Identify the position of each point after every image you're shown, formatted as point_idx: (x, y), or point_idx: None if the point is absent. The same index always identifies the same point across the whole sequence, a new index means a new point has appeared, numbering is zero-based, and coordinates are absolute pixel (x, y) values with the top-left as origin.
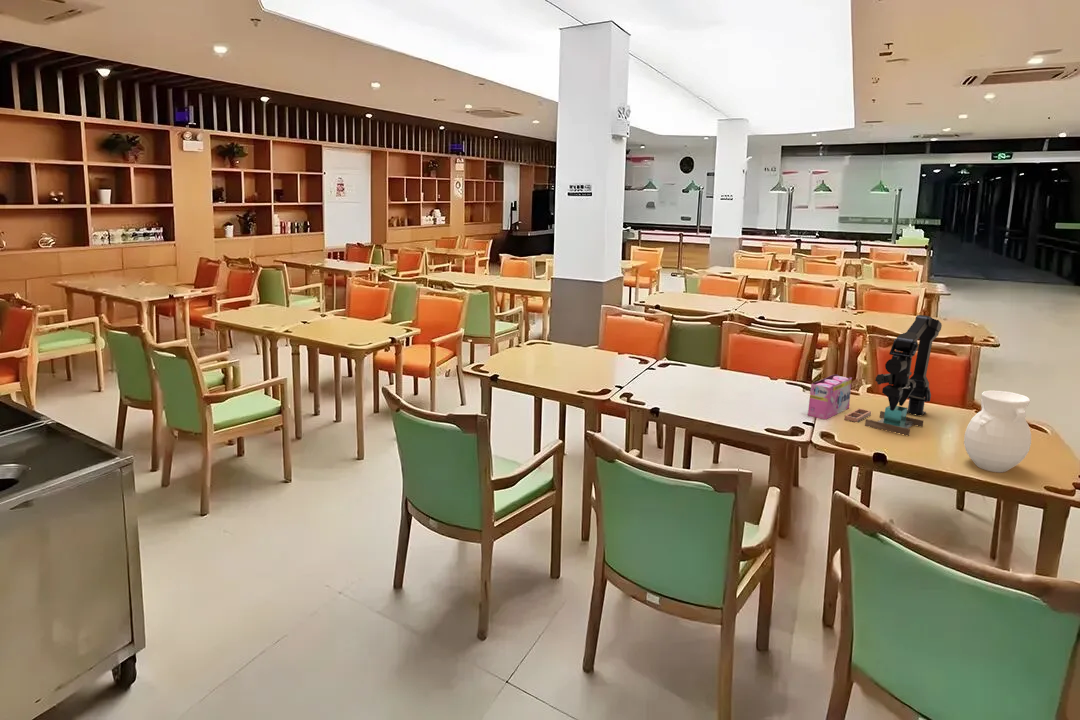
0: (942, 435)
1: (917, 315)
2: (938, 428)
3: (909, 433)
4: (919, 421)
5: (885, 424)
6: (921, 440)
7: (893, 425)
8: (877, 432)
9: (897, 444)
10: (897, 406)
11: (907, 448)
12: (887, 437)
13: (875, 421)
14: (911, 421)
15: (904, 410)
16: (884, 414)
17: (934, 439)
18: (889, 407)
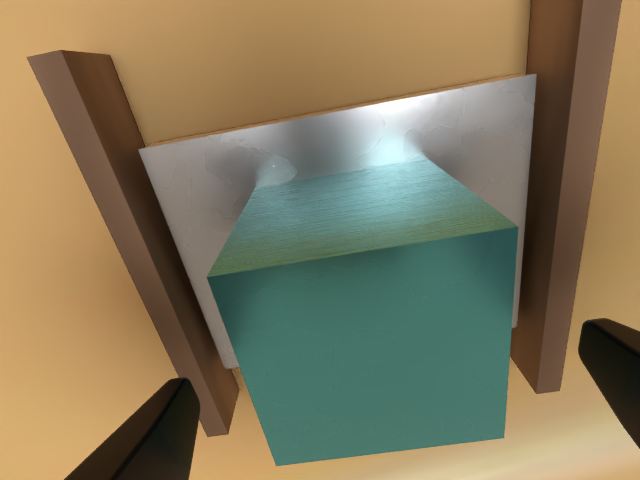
0: (428, 467)
1: None
2: (563, 410)
3: (233, 404)
4: (531, 367)
5: (135, 282)
6: (225, 454)
7: (179, 336)
8: (55, 247)
9: (10, 426)
10: (472, 342)
11: (21, 473)
12: (46, 341)
13: (101, 176)
14: (515, 312)
15: (385, 439)
16: (562, 22)
17: (313, 474)
18: (288, 306)
